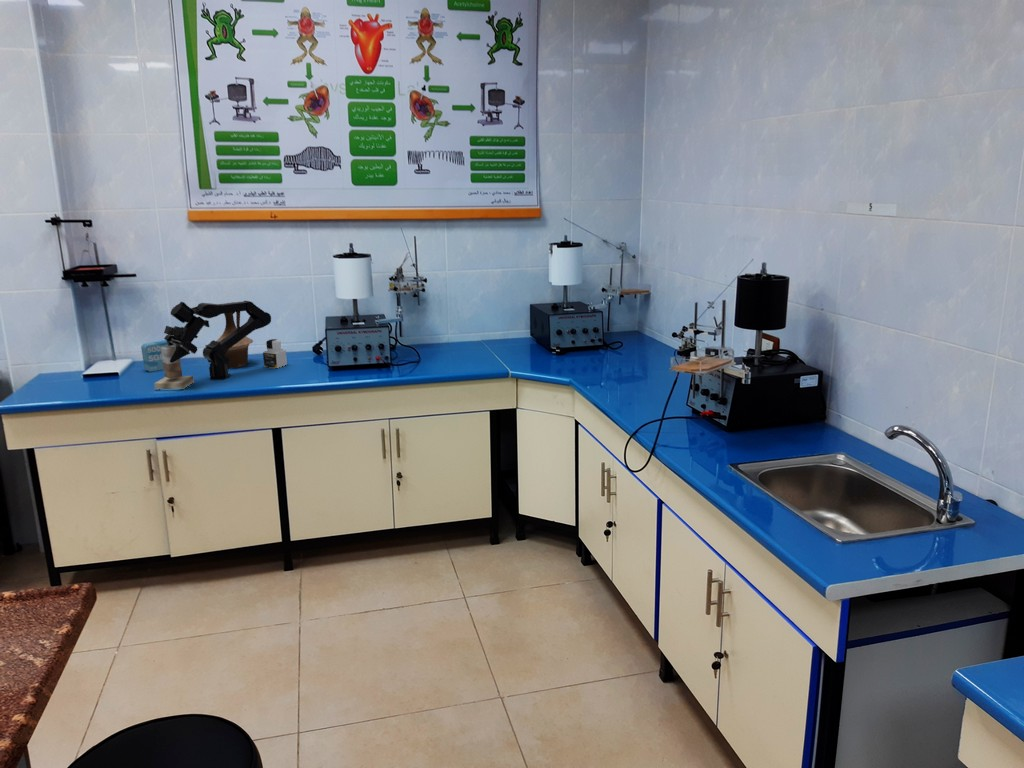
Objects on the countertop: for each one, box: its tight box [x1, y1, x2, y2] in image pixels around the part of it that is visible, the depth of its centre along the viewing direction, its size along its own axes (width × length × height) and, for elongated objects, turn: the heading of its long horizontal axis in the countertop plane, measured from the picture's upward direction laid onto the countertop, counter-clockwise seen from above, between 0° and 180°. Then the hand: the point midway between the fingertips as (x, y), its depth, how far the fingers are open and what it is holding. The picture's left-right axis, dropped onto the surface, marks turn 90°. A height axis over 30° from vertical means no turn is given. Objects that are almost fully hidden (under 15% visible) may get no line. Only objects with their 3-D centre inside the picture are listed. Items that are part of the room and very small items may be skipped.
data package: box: [140, 339, 168, 373], centre depth 336 cm, size 12×4×12 cm, turn 135°
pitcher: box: [216, 302, 254, 369], centre depth 340 cm, size 18×17×28 cm
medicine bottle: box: [262, 338, 288, 369], centre depth 339 cm, size 7×7×12 cm
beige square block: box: [153, 375, 195, 391], centre depth 310 cm, size 11×11×3 cm
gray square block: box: [161, 345, 183, 379], centre depth 308 cm, size 5×5×12 cm
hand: (168, 361), depth 307 cm, fingers closed on gray square block, 5 cm apart
